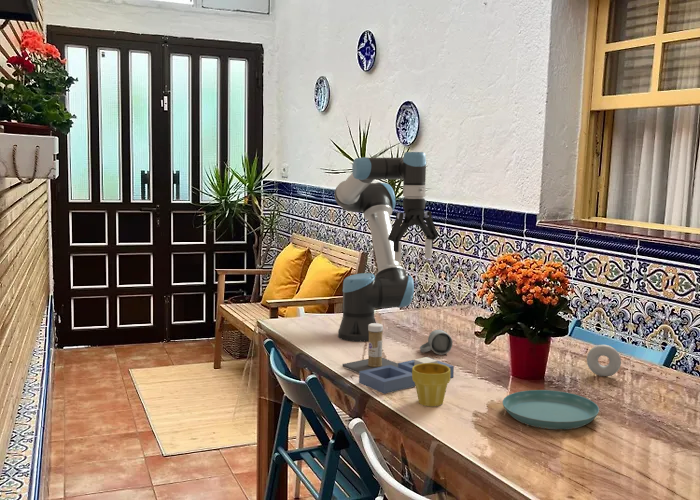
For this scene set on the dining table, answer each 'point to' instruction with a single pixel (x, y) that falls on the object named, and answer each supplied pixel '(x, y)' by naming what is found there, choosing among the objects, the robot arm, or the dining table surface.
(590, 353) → the donut
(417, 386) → the plant pot
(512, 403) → the saucer
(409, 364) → the dish
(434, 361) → the cream block
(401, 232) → the robot arm
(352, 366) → the mat
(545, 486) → the dining table surface
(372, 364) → the sprinkles bottle
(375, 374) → the dish
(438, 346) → the ceramic mug
